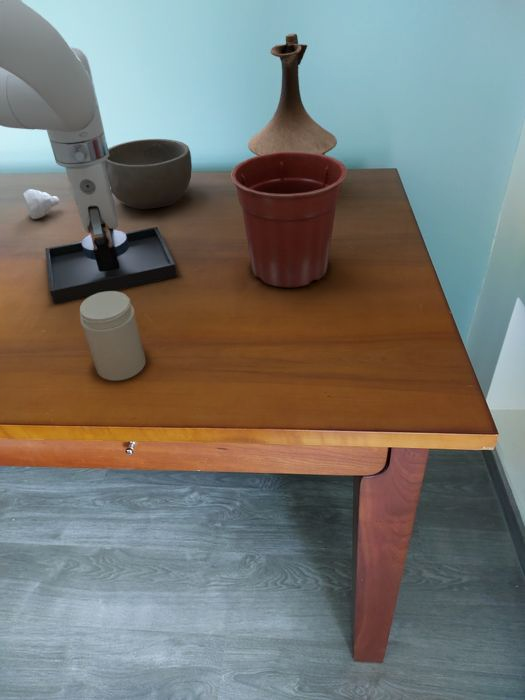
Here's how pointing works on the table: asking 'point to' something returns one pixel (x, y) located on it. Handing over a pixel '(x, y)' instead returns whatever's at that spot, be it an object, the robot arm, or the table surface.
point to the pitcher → (291, 112)
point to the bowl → (149, 172)
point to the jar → (112, 335)
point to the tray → (134, 269)
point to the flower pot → (289, 213)
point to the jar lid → (117, 240)
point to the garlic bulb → (39, 203)
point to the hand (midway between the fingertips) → (108, 256)
